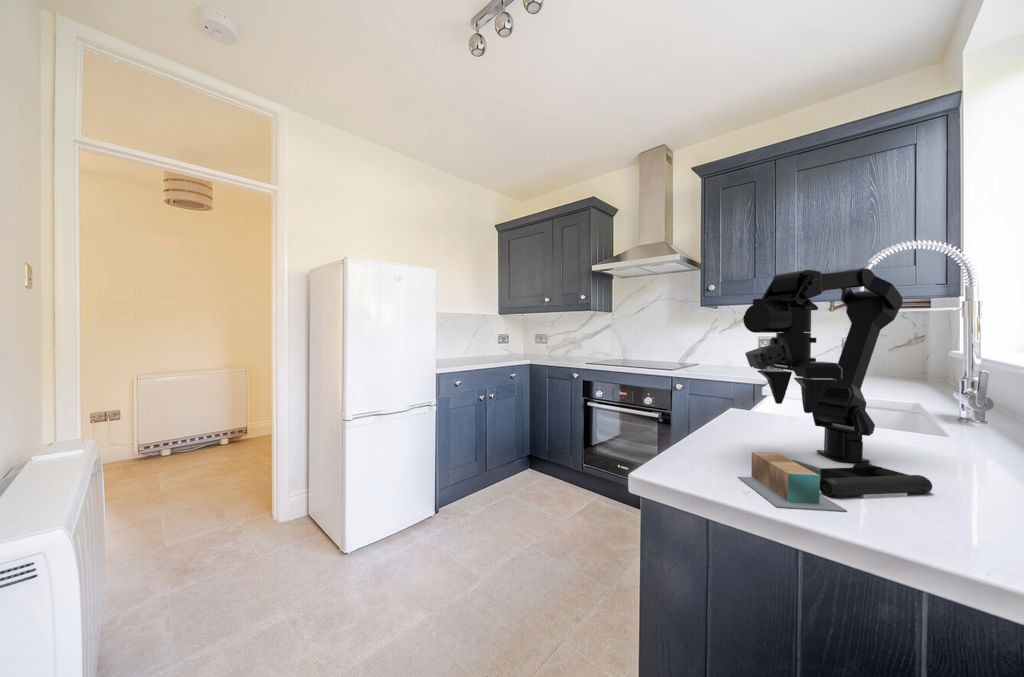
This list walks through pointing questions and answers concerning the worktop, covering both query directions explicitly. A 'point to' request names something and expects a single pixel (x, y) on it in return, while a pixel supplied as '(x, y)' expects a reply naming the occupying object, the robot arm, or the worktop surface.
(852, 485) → the door handle
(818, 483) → the walnut block
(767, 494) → the mat
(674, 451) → the worktop surface
